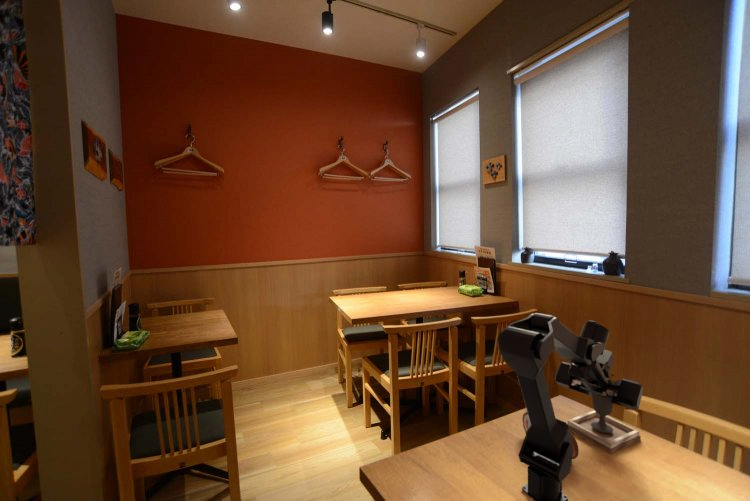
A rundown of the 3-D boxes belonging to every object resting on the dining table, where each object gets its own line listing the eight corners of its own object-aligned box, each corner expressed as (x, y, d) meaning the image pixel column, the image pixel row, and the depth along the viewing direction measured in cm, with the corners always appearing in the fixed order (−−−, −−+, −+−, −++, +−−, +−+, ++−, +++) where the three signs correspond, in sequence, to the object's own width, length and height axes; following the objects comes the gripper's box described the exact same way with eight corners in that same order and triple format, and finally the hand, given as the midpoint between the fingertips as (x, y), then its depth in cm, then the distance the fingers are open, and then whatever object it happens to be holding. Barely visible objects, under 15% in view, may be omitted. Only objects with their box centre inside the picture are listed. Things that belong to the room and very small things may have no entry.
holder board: (610, 454, 85) (610, 444, 85) (566, 428, 96) (566, 420, 96) (640, 440, 90) (640, 431, 90) (595, 417, 101) (595, 409, 101)
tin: (579, 467, 81) (579, 432, 81) (569, 471, 80) (570, 436, 79) (529, 432, 95) (529, 402, 94) (520, 435, 94) (520, 405, 93)
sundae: (623, 432, 90) (625, 377, 89) (602, 436, 89) (603, 380, 88) (602, 419, 97) (603, 366, 95) (581, 422, 95) (582, 369, 94)
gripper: (642, 351, 81) (654, 383, 89) (559, 333, 96) (576, 361, 103) (630, 394, 77) (644, 424, 84) (545, 368, 92) (564, 396, 99)
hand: (604, 398), depth 93 cm, fingers closed on sundae, 6 cm apart
